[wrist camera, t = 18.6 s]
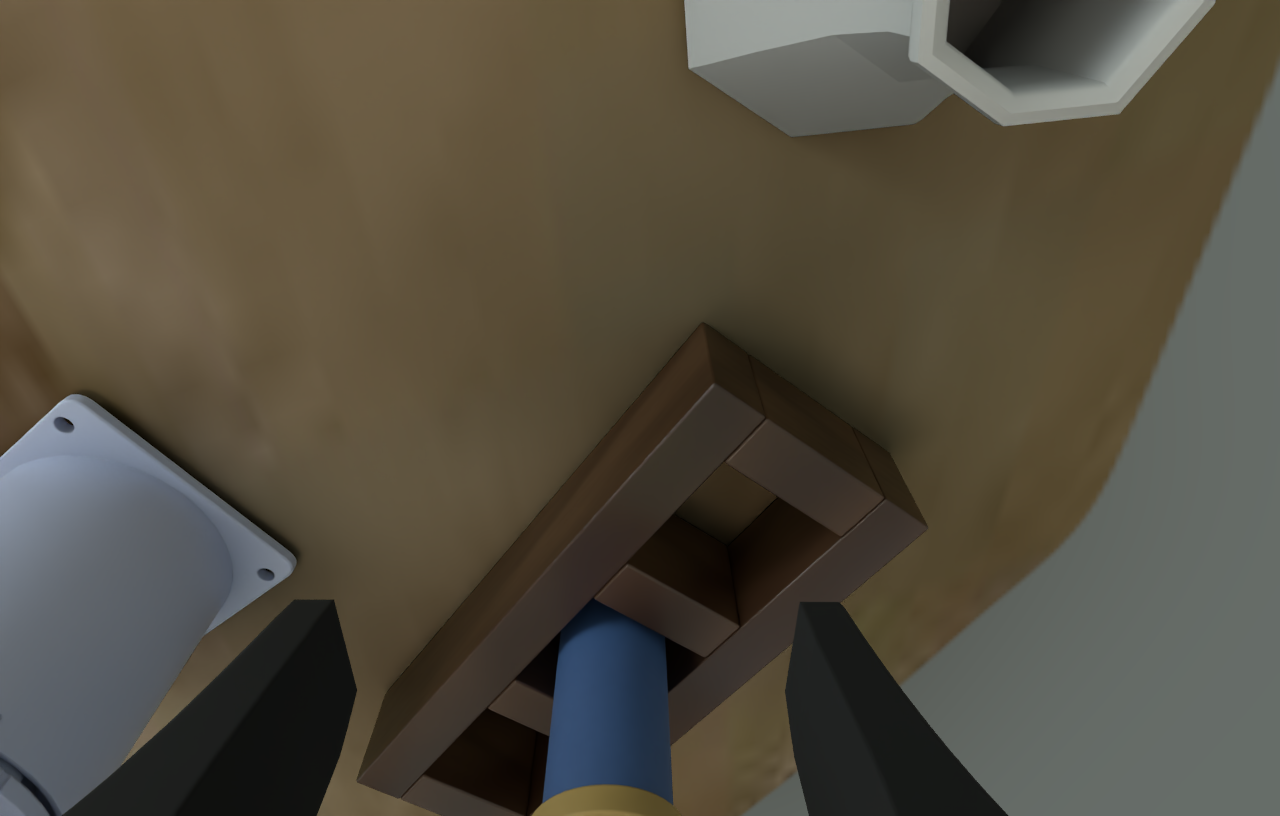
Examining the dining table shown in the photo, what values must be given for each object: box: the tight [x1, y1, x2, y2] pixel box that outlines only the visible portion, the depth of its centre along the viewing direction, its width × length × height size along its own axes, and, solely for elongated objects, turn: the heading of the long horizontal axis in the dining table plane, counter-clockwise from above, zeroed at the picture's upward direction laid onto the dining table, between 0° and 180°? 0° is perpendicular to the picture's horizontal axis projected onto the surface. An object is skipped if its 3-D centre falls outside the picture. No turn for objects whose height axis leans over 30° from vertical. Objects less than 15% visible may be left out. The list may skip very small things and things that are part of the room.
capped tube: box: [532, 597, 682, 816], centre depth 21 cm, size 4×4×9 cm
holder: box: [357, 323, 928, 816], centre depth 24 cm, size 7×18×4 cm, turn 143°
